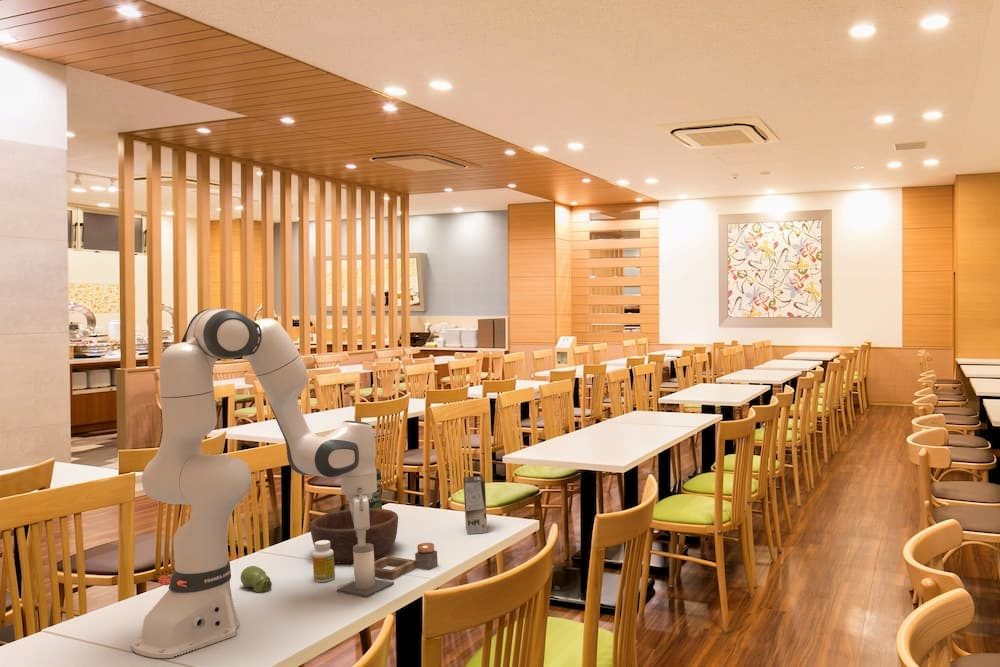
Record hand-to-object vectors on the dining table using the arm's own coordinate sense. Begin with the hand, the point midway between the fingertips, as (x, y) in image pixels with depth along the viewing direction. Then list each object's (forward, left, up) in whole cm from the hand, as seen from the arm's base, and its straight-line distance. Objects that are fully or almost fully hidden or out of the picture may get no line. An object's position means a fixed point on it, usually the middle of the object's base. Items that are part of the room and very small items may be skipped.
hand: (360, 541), depth 201 cm
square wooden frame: (+16, +1, -12) cm, 20 cm away
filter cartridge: (+1, 0, -11) cm, 11 cm away
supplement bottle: (+2, +15, -12) cm, 19 cm away
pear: (-11, +26, -12) cm, 31 cm away
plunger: (+21, -4, -11) cm, 24 cm away
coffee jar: (+48, +40, -12) cm, 63 cm away
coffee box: (+57, +4, -12) cm, 58 cm away
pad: (+1, 0, -12) cm, 12 cm away
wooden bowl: (+23, +23, -12) cm, 35 cm away
